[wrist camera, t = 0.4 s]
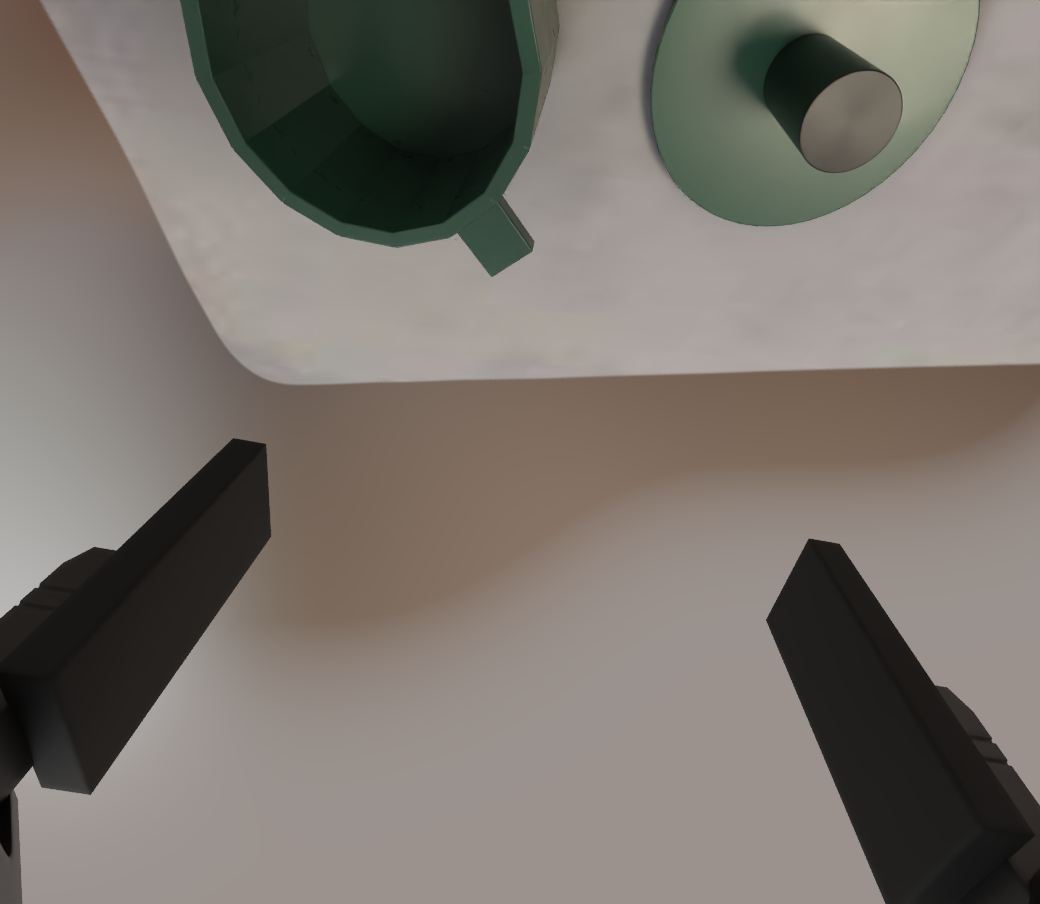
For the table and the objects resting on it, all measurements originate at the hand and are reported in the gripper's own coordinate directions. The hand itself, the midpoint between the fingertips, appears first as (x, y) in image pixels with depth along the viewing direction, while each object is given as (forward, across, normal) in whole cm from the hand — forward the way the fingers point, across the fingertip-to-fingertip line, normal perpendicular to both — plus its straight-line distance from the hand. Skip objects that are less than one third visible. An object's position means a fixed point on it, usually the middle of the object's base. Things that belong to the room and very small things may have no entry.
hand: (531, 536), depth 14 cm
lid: (+23, +10, +13) cm, 28 cm away
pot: (+24, -8, +12) cm, 28 cm away
